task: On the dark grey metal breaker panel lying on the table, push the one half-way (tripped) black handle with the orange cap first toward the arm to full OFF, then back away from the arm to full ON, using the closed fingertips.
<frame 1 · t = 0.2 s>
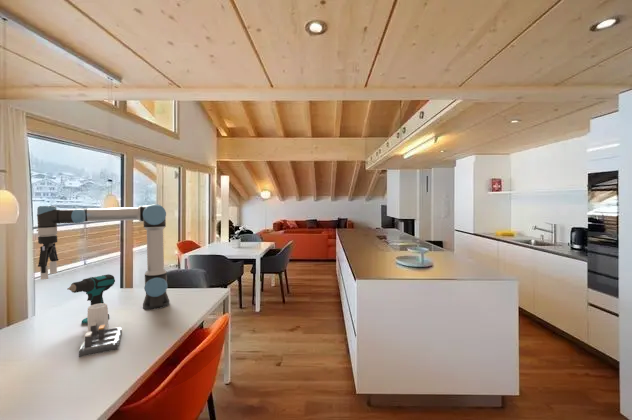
hand: (49, 276, 159), 28 cm above the table, fingers open, 13 cm apart
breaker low: (94, 328, 147), point 6 cm above the table, slide at 4.0 cm
power drill: (92, 322, 169), on the table
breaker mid: (102, 332, 143), point 6 cm above the table, slide at 0.0 cm
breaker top: (88, 339, 135), point 6 cm above the table, slide at 4.0 cm
panel: (102, 343, 143), on the table
cup: (98, 334, 154), on the table
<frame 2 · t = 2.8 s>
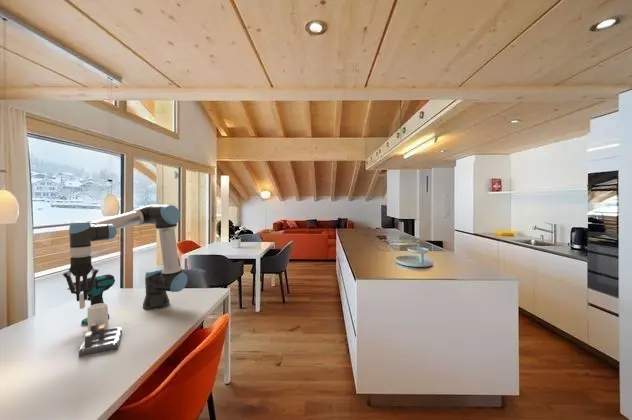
hand: (82, 307, 139), 18 cm above the table, fingers closed
nothing on the table moved.
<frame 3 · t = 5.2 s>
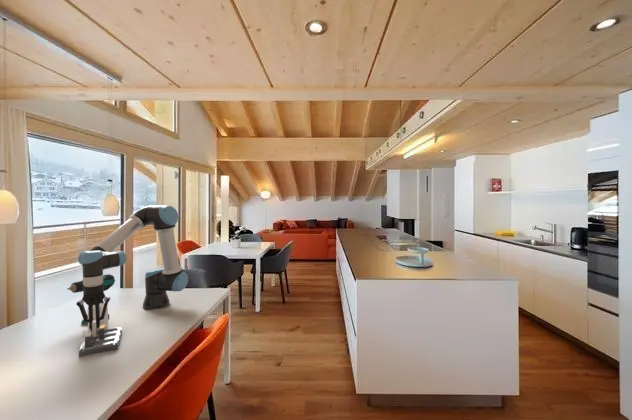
hand: (95, 335, 142), 5 cm above the table, fingers closed
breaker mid: (102, 332, 143), point 6 cm above the table, slide at -0.1 cm, touching gripper
everything else where it was.
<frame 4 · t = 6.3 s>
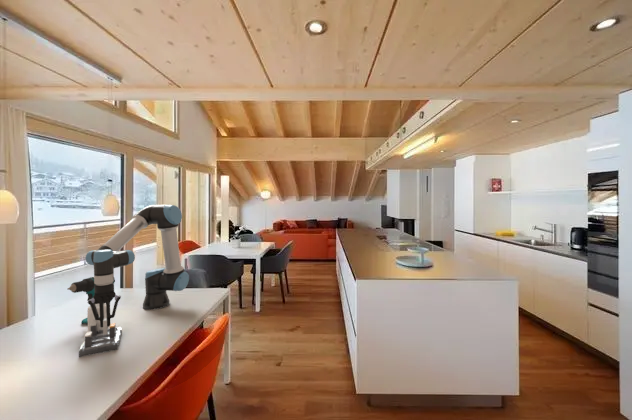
hand: (105, 333, 144), 5 cm above the table, fingers closed
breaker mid: (112, 330, 145), point 6 cm above the table, slide at -4.2 cm, touching gripper
everything else where it was.
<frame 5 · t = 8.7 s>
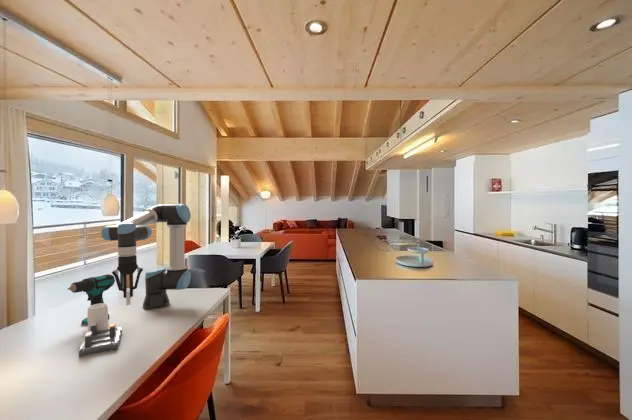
hand: (128, 304, 147), 17 cm above the table, fingers closed
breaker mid: (112, 330, 145), point 6 cm above the table, slide at -4.2 cm
everything else where it was.
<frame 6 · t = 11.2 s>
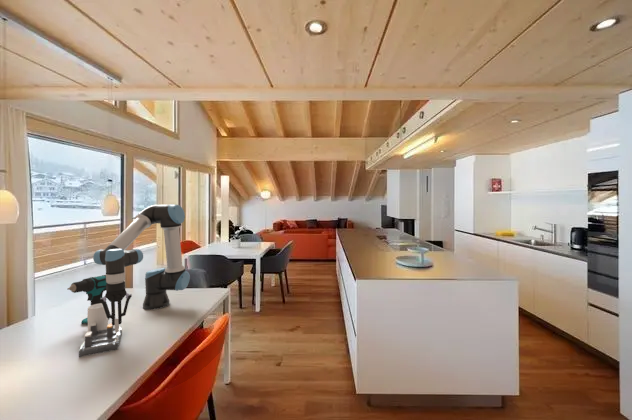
hand: (117, 331, 146), 5 cm above the table, fingers closed
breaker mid: (110, 330, 144), point 6 cm above the table, slide at -3.2 cm, touching gripper
everything else where it was.
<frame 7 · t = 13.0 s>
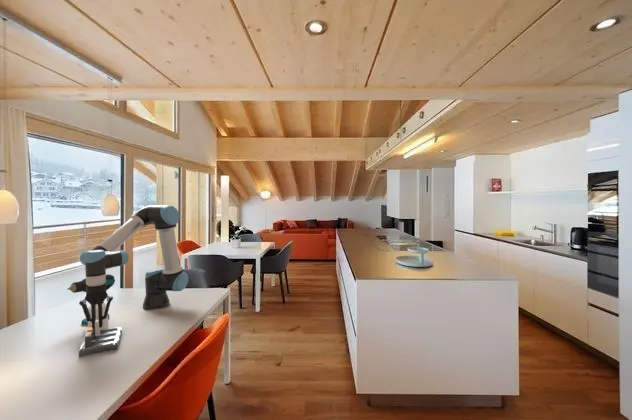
hand: (97, 334, 142), 5 cm above the table, fingers closed
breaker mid: (90, 334, 141), point 6 cm above the table, slide at 4.4 cm, touching gripper
everything else where it was.
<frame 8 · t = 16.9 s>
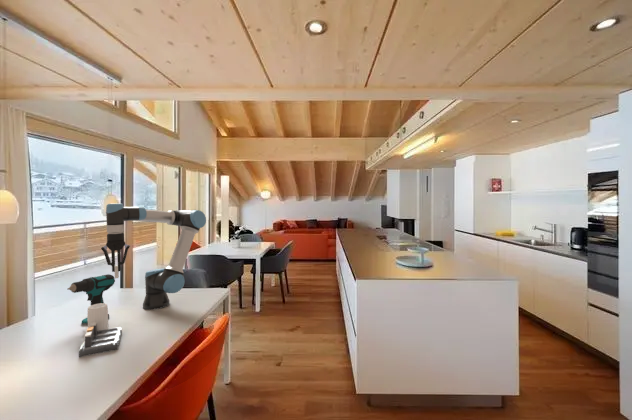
hand: (116, 277, 161), 26 cm above the table, fingers closed
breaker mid: (90, 334, 141), point 6 cm above the table, slide at 4.4 cm
everything else where it was.
at the end: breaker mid slide at 4.4 cm; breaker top slide at 4.0 cm; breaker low slide at 4.0 cm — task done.
